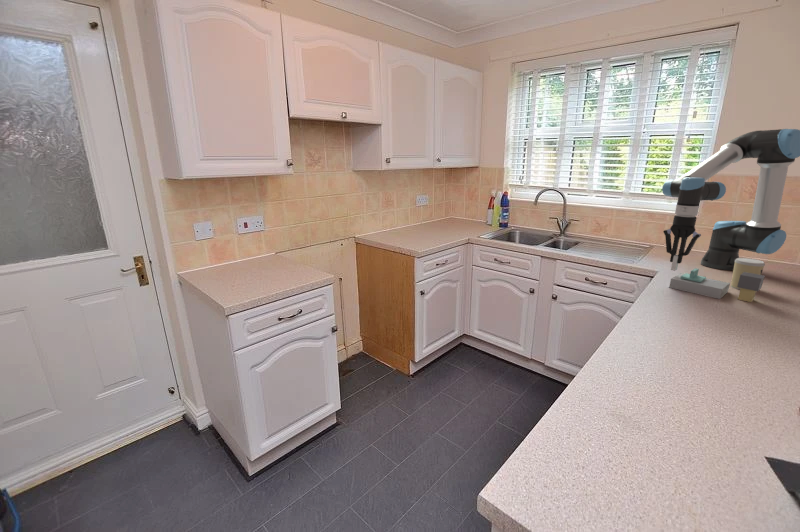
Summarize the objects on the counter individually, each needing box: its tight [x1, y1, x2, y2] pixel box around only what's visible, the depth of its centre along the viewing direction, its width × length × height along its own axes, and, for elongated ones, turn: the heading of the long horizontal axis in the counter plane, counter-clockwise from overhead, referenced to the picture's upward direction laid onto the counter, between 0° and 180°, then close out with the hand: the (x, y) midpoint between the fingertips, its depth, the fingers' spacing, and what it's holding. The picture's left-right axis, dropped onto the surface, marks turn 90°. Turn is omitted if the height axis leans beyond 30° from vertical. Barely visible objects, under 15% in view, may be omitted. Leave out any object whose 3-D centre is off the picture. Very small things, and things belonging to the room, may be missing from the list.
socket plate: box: [668, 272, 731, 300], centre depth 155 cm, size 12×17×4 cm
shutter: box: [680, 267, 707, 282], centre depth 156 cm, size 7×7×4 cm
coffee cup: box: [730, 257, 766, 291], centre depth 156 cm, size 9×9×12 cm
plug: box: [737, 272, 765, 303], centre depth 143 cm, size 6×6×10 cm
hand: (673, 269), depth 161 cm, fingers closed
